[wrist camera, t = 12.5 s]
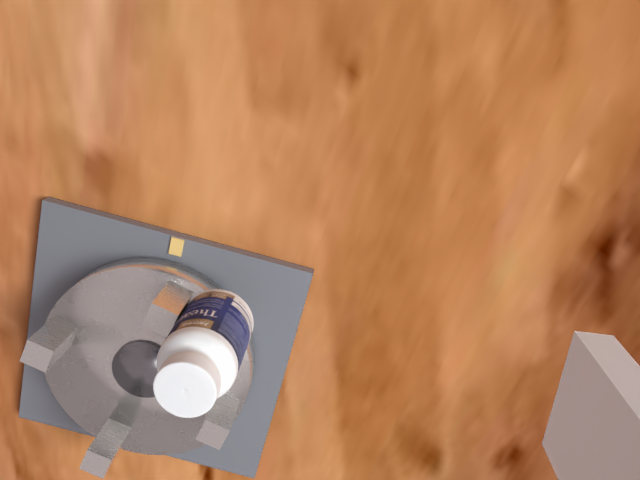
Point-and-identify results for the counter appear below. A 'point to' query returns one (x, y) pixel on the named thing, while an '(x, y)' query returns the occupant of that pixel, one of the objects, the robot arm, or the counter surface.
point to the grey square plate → (202, 255)
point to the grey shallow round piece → (127, 360)
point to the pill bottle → (202, 353)
